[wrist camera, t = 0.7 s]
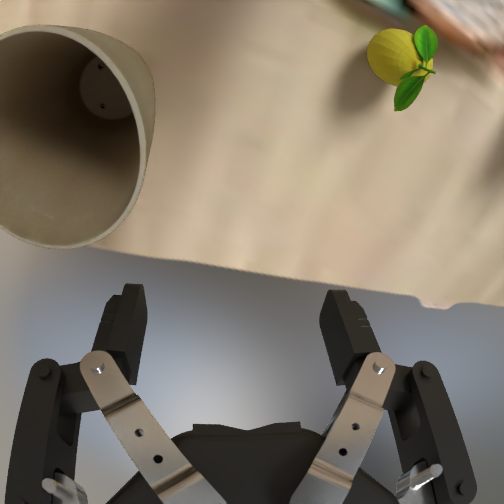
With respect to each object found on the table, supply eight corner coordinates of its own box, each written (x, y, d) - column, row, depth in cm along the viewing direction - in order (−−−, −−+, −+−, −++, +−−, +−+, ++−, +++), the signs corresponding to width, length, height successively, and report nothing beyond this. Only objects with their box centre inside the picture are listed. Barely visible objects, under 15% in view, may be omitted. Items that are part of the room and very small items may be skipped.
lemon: (366, 90, 28) (412, 125, 21) (341, 40, 25) (384, 56, 17) (418, 66, 26) (476, 95, 19) (397, 16, 22) (455, 28, 15)
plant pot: (169, -8, 21) (103, -23, 9) (201, 131, 31) (179, 229, 19) (34, 47, 22) (-76, 98, 10) (76, 164, 32) (8, 262, 20)
